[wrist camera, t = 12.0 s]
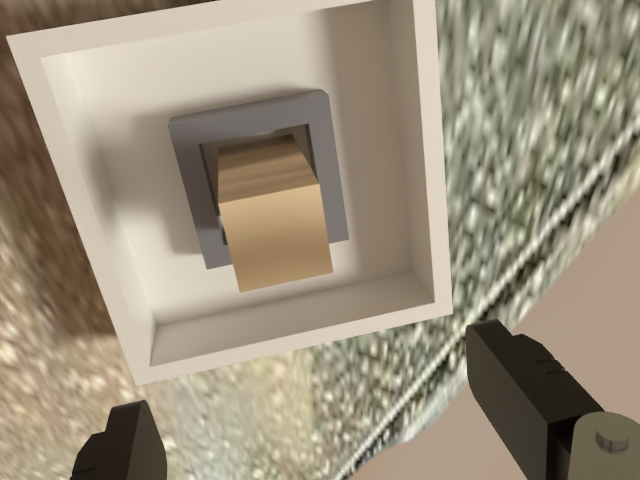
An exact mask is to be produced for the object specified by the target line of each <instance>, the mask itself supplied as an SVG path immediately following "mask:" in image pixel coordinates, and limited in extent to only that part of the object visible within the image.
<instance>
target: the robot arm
mask: <svg viewBox="0 0 640 480" xmlns="http://www.w3.org/2000/svg"><path fill="white" fill-rule="evenodd" d="M466 356H467V375H468V381H469V385H470V388H471V391H472V393H473V395H474V397H475V399H476V401H477V402H478V403H479V405H480V407H481V408H482V410H483V412H484V413H485V415H486V416H487V418H488V419H489V421H490V422H491V424H492V425H493V427H494V428H495V430H496V432H497V433H498V435H499V436H500V438H501V439H502V441H503V442H504V444H505V445H506V447H507V449H508V450H509V452H510V453H511V454H512V456H513V458H514V459H515V461H516V462H517V464H518V465H519V467H520V469H521V470H522V472H523V473H524V475H525V476H526V478H527V479H528V480H640V424H638V423H637V422H635V421H634V420H632V419H630V418H628V417H625V416H623V415H620V414H616V413H612V412H605V411H604V410H603V408H602V407H601V406H600V405H599V404H598V403H597V402H596V401H595V400H594V399H593V398H592V397H591V396H590V395H589V394H588V393H587V392H586V390H585V389H584V388H583V387H582V386H581V385H580V384H579V383H578V382H577V381H576V380H575V379H574V378H573V377H572V376H571V375H570V374H569V372H568V371H565V368H564V367H563V366H562V365H561V364H560V363H559V362H558V361H557V360H555V359H554V357H553V356H552V354H551V353H550V352H549V351H548V350H547V349H546V348H545V347H544V346H543V345H542V344H541V343H539V342H537V341H535V340H533V339H531V338H529V337H528V336H526V335H524V334H519V335H515V336H512V335H511V333H510V332H509V331H508V330H507V329H506V328H505V327H504V326H503V324H502V323H501V322H500V321H499V320H497V319H493V320H489V321H485V322H480V323H476V324H472V325H468V326H467V327H466ZM166 479H167V460H166V453H165V449H164V446H163V443H162V440H161V438H160V435H159V432H158V429H157V427H156V424H155V421H154V419H153V416H152V413H151V410H150V408H149V405H148V403H147V402H146V401H145V400H141V401H137V402H133V403H128V404H124V405H120V406H115V407H113V408H112V409H111V411H110V414H109V418H108V422H107V426H106V429H105V432H101V433H96V434H92V435H91V437H90V438H89V439H88V441H87V442H86V443H85V445H84V446H83V447H82V449H81V450H80V451H79V453H78V455H77V458H76V461H75V464H74V467H73V471H72V477H70V480H166Z"/></svg>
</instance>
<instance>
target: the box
mask: <svg viewBox="0 0 640 480" xmlns="http://www.w3.org/2000/svg"><path fill="white" fill-rule="evenodd" d="M6 38H7V41H8V44H9V46H10V49H11V52H12V54H13V57H14V60H15V62H16V65H17V68H18V70H19V73H20V76H21V79H22V81H23V84H24V87H25V89H26V92H27V95H28V97H29V100H30V103H31V105H32V108H33V111H34V113H35V116H36V119H37V122H38V124H39V127H40V130H41V132H42V135H43V138H44V140H45V143H46V146H47V148H48V151H49V154H50V156H51V159H52V162H53V164H54V167H55V170H56V173H57V175H58V178H59V181H60V183H61V186H62V189H63V191H64V194H65V197H66V199H67V202H68V205H69V207H70V210H71V213H72V215H73V218H74V221H75V224H76V226H77V229H78V232H79V234H80V237H81V240H82V242H83V245H84V248H85V250H86V253H87V256H88V258H89V261H90V264H91V266H92V269H93V272H94V275H95V277H96V280H97V283H98V285H99V288H100V291H101V293H102V296H103V299H104V301H105V304H106V307H107V309H108V312H109V315H110V318H111V320H112V323H113V326H114V328H115V331H116V334H117V336H118V339H119V342H120V344H121V347H122V350H123V352H124V355H125V358H126V360H127V363H128V366H129V369H130V371H131V374H132V377H133V379H134V382H135V385H136V386H140V385H144V384H148V383H153V382H157V381H161V380H166V379H170V378H174V377H179V376H183V375H188V374H192V373H196V372H201V371H205V370H209V369H214V368H218V367H222V366H227V365H231V364H235V363H240V362H244V361H249V360H253V359H257V358H262V357H266V356H270V355H275V354H279V353H283V352H288V351H292V350H297V349H301V348H305V347H310V346H314V345H318V344H323V343H327V342H331V341H336V340H340V339H345V338H349V337H353V336H358V335H362V334H366V333H371V332H375V331H379V330H384V329H388V328H393V327H397V326H401V325H406V324H410V323H414V322H419V321H423V320H427V319H432V318H436V317H441V316H445V315H449V314H453V309H452V291H451V274H450V256H449V239H448V221H447V204H446V186H445V169H444V151H443V134H442V116H441V99H440V81H439V64H438V46H437V29H436V11H435V0H219V1H213V2H207V3H201V4H195V5H189V6H183V7H177V8H171V9H165V10H159V11H153V12H147V13H141V14H135V15H129V16H123V17H117V18H111V19H105V20H99V21H93V22H87V23H81V24H75V25H69V26H63V27H57V28H51V29H45V30H39V31H33V32H27V33H21V34H15V35H9V36H6ZM288 134H292V135H293V137H294V139H295V141H296V143H297V144H298V146H299V148H300V150H301V152H302V153H303V155H304V157H305V159H306V161H307V162H308V164H309V166H310V168H311V170H312V171H313V173H314V175H315V177H316V179H317V180H318V182H319V185H320V191H321V197H322V204H323V210H324V216H325V223H326V229H327V235H328V242H329V248H330V254H331V261H332V267H333V273H329V274H325V275H320V276H315V277H311V278H306V279H301V280H297V281H292V282H287V283H283V284H278V285H273V286H269V287H264V288H259V289H255V290H250V291H245V292H241V293H240V291H239V287H238V283H237V279H236V275H235V271H234V267H233V262H232V258H231V254H230V250H229V246H228V242H227V238H226V234H225V230H224V226H223V222H222V218H221V213H220V209H219V205H218V148H220V147H225V146H230V145H235V144H241V143H246V142H251V141H257V140H262V139H267V138H272V137H278V136H283V135H288Z"/></svg>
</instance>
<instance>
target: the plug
mask: <svg viewBox="0 0 640 480" xmlns="http://www.w3.org/2000/svg"><path fill="white" fill-rule="evenodd" d="M218 205H219V209H220V213H221V218H222V222H223V226H224V230H225V234H226V238H227V242H228V246H229V250H230V254H231V258H232V262H233V267H234V271H235V275H236V279H237V283H238V287H239V291H240V293H241V292H245V291H250V290H255V289H259V288H264V287H269V286H273V285H278V284H283V283H287V282H292V281H297V280H301V279H306V278H311V277H315V276H320V275H325V274H329V273H333V267H332V261H331V254H330V248H329V242H328V235H327V229H326V223H325V216H324V210H323V204H322V197H321V191H320V185H319V182H318V180H317V179H316V177H315V175H314V173H313V171H312V170H311V168H310V166H309V164H308V162H307V161H306V159H305V157H304V155H303V153H302V152H301V150H300V148H299V146H298V144H297V143H296V141H295V139H294V137H293V135H292V134H288V135H283V136H278V137H272V138H267V139H262V140H257V141H251V142H246V143H241V144H235V145H230V146H225V147H220V148H218Z"/></svg>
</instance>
